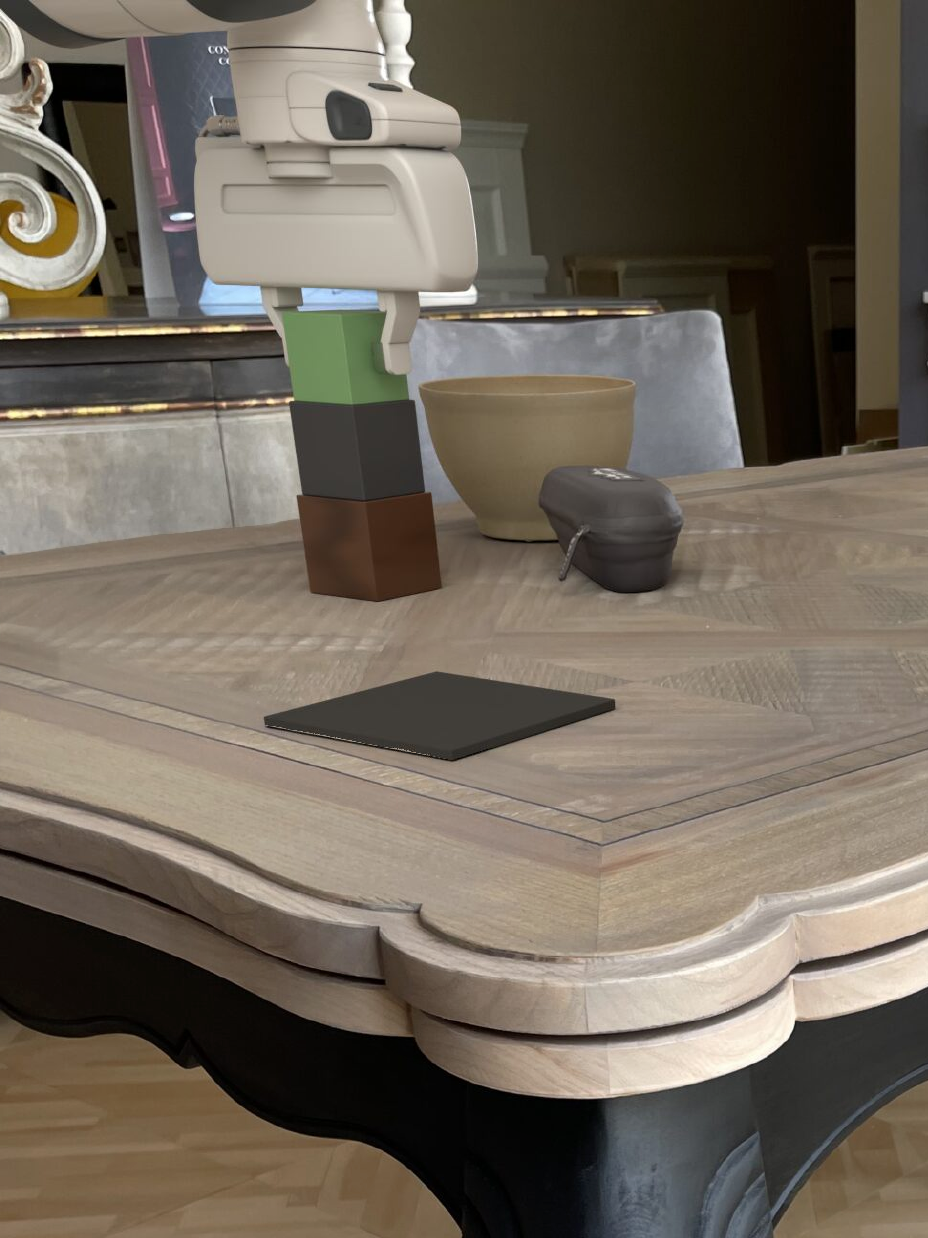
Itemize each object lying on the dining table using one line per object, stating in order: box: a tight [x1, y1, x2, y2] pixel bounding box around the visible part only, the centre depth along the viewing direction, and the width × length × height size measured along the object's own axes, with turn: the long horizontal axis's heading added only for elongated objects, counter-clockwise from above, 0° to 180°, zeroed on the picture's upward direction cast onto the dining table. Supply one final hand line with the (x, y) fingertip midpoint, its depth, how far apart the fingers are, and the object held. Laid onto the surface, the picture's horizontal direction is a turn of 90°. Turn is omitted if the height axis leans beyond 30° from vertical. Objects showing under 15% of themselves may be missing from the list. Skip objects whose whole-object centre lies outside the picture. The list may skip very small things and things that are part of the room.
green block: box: [282, 309, 410, 405], centre depth 112 cm, size 5×5×5 cm
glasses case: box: [538, 466, 684, 593], centre depth 124 cm, size 18×10×8 cm, turn 24°
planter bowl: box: [418, 373, 637, 543], centre depth 139 cm, size 16×16×11 cm
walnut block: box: [295, 491, 443, 602], centre depth 118 cm, size 6×6×6 cm
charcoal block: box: [288, 399, 426, 501], centre depth 115 cm, size 6×6×6 cm
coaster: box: [263, 670, 617, 761], centre depth 89 cm, size 12×12×1 cm
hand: (348, 371), depth 113 cm, fingers open, 6 cm apart
